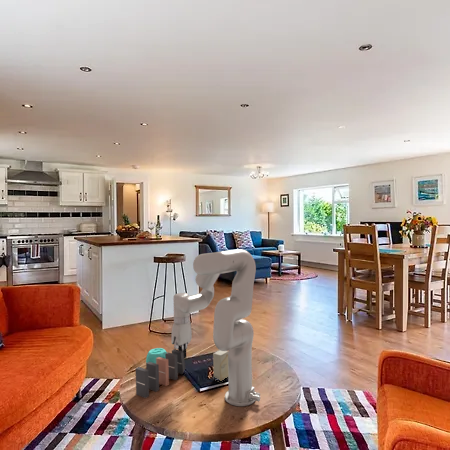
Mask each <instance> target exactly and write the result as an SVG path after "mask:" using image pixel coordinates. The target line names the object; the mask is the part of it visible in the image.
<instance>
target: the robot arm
mask: <svg viewBox="0 0 450 450" xmlns="http://www.w3.org/2000/svg"><path fill="white" fill-rule="evenodd" d="M192 263H193V264H192V266H193V270H194V272H195V273H196V276H195V278H194V279H195V280H194V281H195V283H196V285H197V286H198V287H199V288H201V291H200V292H199V293H197V294H196V293H195V294H192V295H189V294H188V293H187V292H179V293H175V294H174V295H173V298H172V299H173V301H172V303H173V324H172V328H171V344H172V345H173V349H176V350H180V351H183V353H184V359H186V358H187V349H188V345H189V344H190V343H191V340H192V338H193V337H192V335H193V334H192V324H191V313H195V312H198V311H201V310H204V309H206V308H207V307H208V306H210V304H211V302H212V300H213V299H214V296H215V287H214V286H215V285H214V284H215V283H216V282H217V280H218V278H219V277H220V275H221V274H226V273H232V272H236V274H235V275H234V278H233V280H232V282H231V283H232V284H231V292H230V296H226V297H224V298H221V299H219V301H217V303H216V305H215V308H214V314H213V329H212V330H213V331H212V338H213V343H214V346H215V348H217V349H218V351H219V350H221V351H228V378H227V379H228V380H227V381H228V391H226V392H225V394H224V400H225V402H227V403H228V404H229V405H231V406H235V407H246V406H251V405H252V404H253V403H255V401H257V402H260V401H261V393H260V392H256V391H255V386H253V372H252V371H253V369H252V368H253V367H252V360H253V359H252V355H253V354H252V348H253V341H254V328H253V324H252V323H251V322H250V321H248V320H246V318H248V317H249V316H250V315H251V314H252V310H253V298H254V284H255V283H254V282H255V277H256V273H257V272H256V271H257V270H256V269H257V267H256V260H255V259H254V257H253V255H252V254H251V253H250V252H249V251H247V250H246V249H230V250H229V249H228V250H223V251H216V252H208V253H201V254H198V255H197V256H196V257H195V258H194V260H193V262H192Z"/></svg>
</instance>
